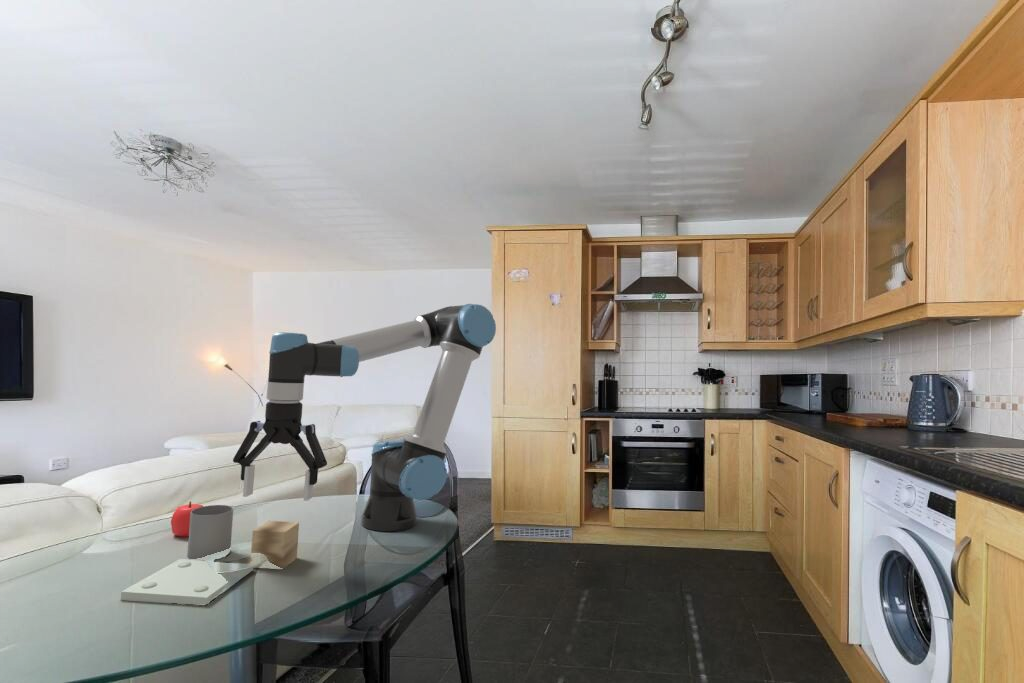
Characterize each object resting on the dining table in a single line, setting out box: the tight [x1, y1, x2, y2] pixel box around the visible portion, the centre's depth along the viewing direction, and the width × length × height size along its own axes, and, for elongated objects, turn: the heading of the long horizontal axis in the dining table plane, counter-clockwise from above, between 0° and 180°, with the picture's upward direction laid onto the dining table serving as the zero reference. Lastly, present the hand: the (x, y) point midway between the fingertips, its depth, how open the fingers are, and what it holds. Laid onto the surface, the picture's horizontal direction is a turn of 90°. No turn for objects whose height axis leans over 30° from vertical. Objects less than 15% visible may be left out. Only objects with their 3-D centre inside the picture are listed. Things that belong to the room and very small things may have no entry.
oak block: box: [250, 520, 300, 569], centre depth 115 cm, size 7×7×8 cm
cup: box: [186, 504, 234, 559], centre depth 118 cm, size 8×8×10 cm
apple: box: [170, 501, 204, 538], centre depth 130 cm, size 8×8×8 cm
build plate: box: [120, 558, 228, 605], centre depth 103 cm, size 16×16×2 cm
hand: (277, 497), depth 116 cm, fingers open, 13 cm apart
